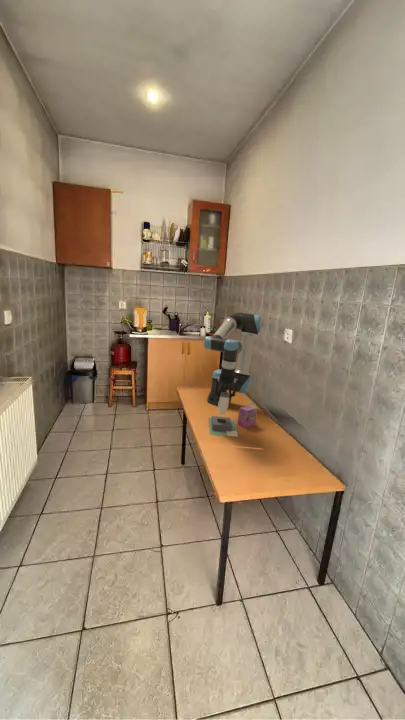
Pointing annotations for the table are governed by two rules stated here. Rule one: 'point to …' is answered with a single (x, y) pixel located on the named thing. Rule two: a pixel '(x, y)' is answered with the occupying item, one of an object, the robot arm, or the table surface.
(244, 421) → the box
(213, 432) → the board
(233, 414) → the table surface
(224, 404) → the plug
